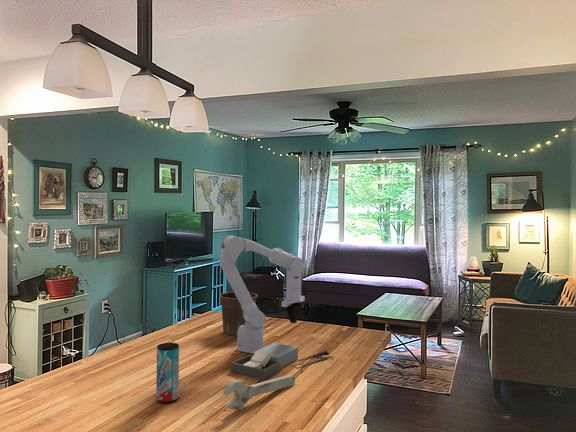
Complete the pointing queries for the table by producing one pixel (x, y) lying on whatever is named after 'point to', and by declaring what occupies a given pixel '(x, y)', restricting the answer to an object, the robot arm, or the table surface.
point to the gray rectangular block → (281, 353)
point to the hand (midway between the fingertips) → (293, 322)
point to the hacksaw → (313, 361)
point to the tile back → (261, 357)
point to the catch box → (262, 374)
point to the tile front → (254, 364)
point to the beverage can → (167, 372)
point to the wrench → (254, 390)
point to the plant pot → (232, 312)
